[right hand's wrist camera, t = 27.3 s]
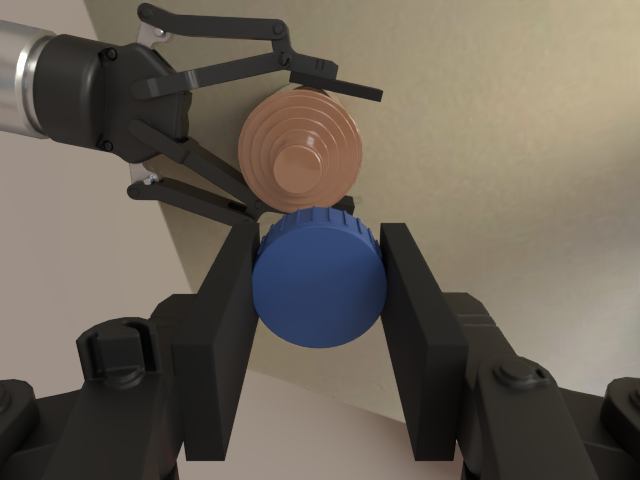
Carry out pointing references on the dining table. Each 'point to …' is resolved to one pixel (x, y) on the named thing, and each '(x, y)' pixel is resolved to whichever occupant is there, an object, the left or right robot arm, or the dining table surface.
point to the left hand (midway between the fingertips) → (364, 152)
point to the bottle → (300, 149)
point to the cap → (319, 278)
